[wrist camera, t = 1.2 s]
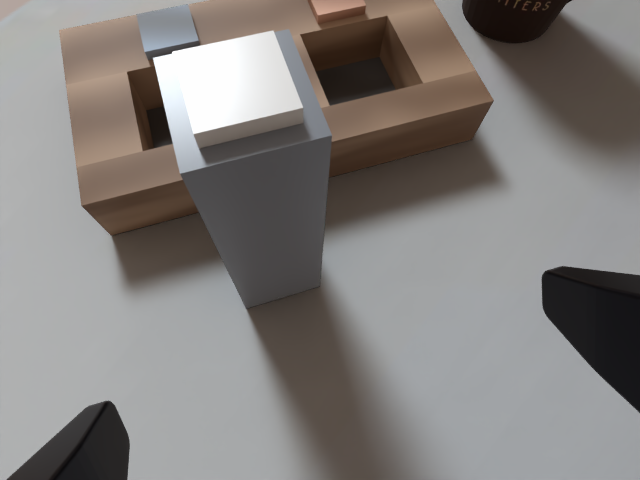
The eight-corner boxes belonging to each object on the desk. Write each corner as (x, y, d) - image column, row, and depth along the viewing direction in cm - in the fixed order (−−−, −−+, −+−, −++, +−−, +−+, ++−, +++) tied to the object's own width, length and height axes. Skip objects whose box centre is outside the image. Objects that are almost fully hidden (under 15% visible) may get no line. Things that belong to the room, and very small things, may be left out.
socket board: (472, 139, 28) (498, 92, 24) (111, 235, 24) (75, 199, 21) (399, 8, 32) (411, -49, 28) (86, 74, 29) (53, 21, 25)
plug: (320, 286, 24) (333, 120, 11) (246, 308, 23) (172, 160, 11) (298, 221, 25) (288, 11, 13) (228, 240, 24) (145, 40, 12)
